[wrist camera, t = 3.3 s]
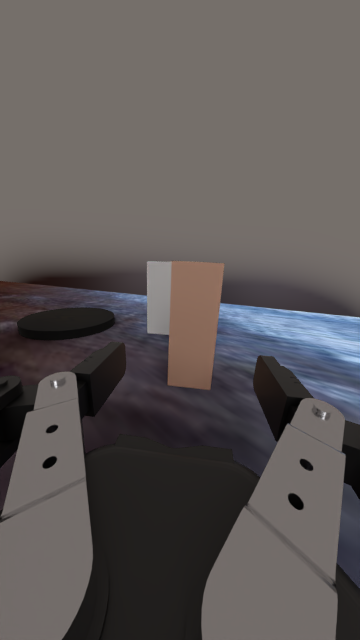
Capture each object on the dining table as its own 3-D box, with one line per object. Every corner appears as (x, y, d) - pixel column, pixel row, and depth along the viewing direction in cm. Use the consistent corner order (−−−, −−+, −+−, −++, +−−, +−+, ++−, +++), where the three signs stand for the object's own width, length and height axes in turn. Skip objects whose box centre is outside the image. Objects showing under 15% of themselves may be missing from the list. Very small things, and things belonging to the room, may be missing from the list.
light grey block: (147, 333, 38) (147, 261, 34) (153, 325, 43) (153, 261, 38) (171, 335, 37) (174, 262, 33) (175, 327, 42) (177, 262, 38)
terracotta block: (167, 385, 22) (171, 260, 18) (173, 363, 27) (177, 261, 23) (210, 390, 21) (224, 263, 17) (208, 367, 26) (219, 263, 22)
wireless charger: (130, 324, 44) (130, 316, 43) (46, 351, 29) (44, 339, 29) (86, 311, 53) (85, 304, 52) (4, 327, 38) (1, 317, 37)
